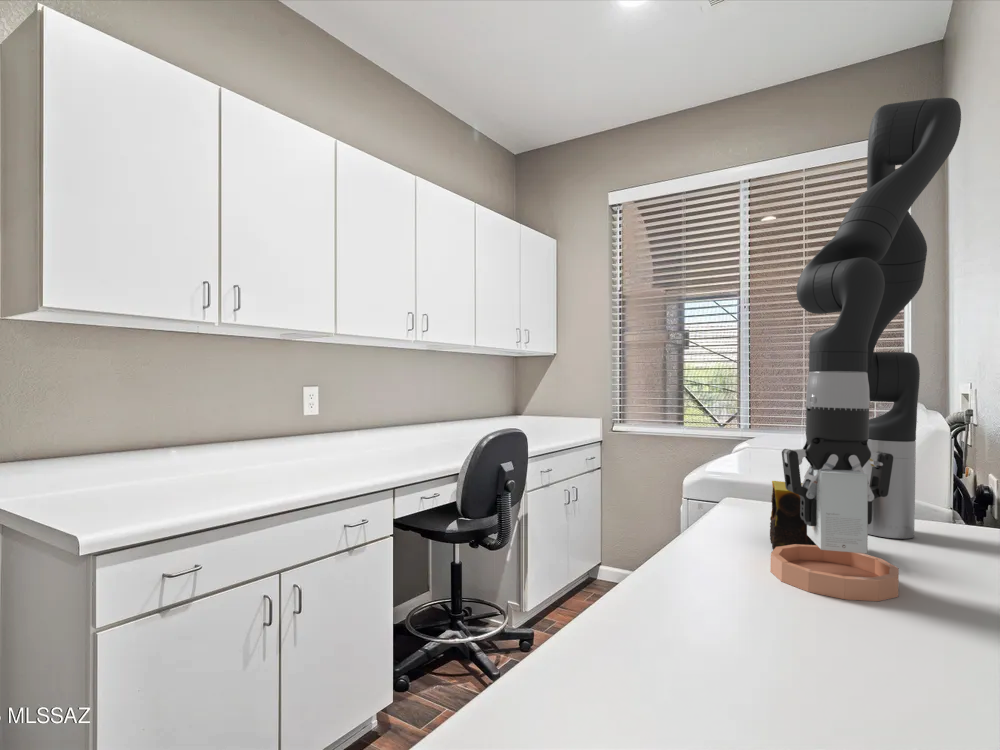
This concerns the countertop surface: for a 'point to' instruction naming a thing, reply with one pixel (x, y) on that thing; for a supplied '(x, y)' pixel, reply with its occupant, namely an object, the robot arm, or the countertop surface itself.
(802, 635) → the countertop surface
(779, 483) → the yellow and black cube
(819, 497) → the small box
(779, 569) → the round tray
